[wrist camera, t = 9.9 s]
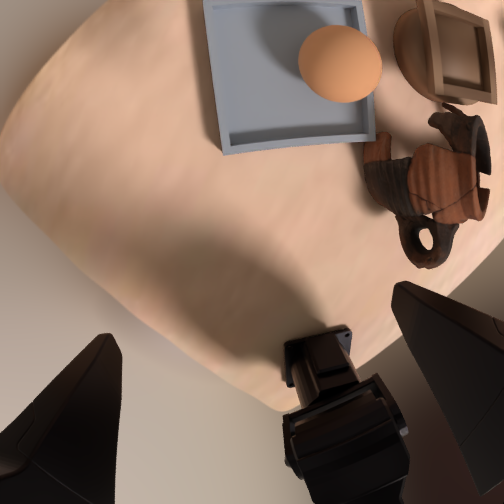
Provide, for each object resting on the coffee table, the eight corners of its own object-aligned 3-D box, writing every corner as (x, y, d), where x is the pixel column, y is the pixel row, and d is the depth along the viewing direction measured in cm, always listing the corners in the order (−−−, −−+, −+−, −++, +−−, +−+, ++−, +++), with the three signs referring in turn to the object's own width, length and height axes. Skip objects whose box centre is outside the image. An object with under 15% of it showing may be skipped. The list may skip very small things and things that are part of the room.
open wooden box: (469, 105, 19) (500, 111, 16) (398, 98, 19) (430, 101, 15) (460, 20, 15) (491, 16, 12) (386, -1, 15) (415, -12, 11)
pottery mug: (355, 93, 19) (465, 83, 12) (412, 124, 24) (493, 124, 18) (348, 262, 21) (456, 292, 15) (406, 251, 27) (486, 269, 20)
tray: (365, 138, 20) (375, 141, 18) (222, 152, 19) (223, 155, 18) (352, 5, 15) (361, 0, 14) (203, 7, 14) (202, 0, 13)
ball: (318, 102, 19) (389, 103, 16) (289, 105, 15) (379, 104, 13) (310, 36, 16) (382, 32, 14) (279, 23, 13) (369, 13, 11)
